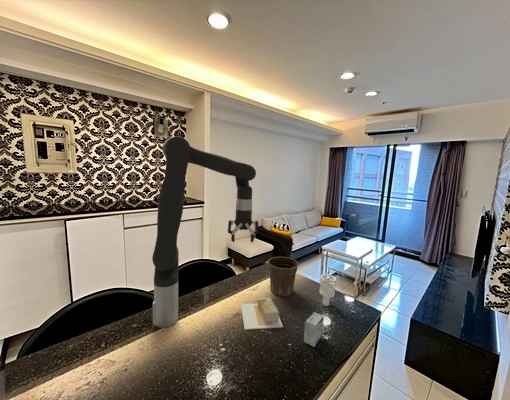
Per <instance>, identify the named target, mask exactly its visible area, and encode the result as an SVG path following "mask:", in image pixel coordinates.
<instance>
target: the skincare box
mask: <svg viewBox="0 0 510 400" xmlns="http://www.w3.org/2000/svg"><path fill="white" fill-rule="evenodd" d="M256 303H257V306H258V308H259V311H260V313H261V315H262V317H263V320H264V322H265V323H268V322H275V321H278V319H279V317H280V311H279V310H278V307H277V306H276V305H275V303H274V301H273V300H272V298H271V296H264V297H258V298H257V302H256Z"/></svg>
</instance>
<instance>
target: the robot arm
mask: <svg viewBox="0 0 510 400" xmlns="http://www.w3.org/2000/svg"><path fill="white" fill-rule="evenodd" d="M162 153H163V155H164V156H165V173H164V177H163V181H162V184H161V187H160V190H159V195H158V203H157V220H156V221H157V222H156V223H157V224H156V226H157V228H156V230H157V232H156V240H155V245H154V250H153V254H152V257H151V258H152V259H151V260H152V263H153V265H154V274H153V302H152V326H154V327H157V328H163V329H165V328H170V327H171V326H174V325H175V324H176V323H177V322H178V321H179V260H180V259H179V248H178V234H179V229H180V226H181V223H182V222H181V221H182V217H183V212H184V205H185V194H186V177H187V176H186V175H187V170H188V166H189V164H192V165H197V166H200V167H202V168H206V169H207V170H208V169H209V170H211V171H213V172H216V173H218V174H223V175H226V176H231V177H235V184H236V189H237V190H236V202H235V219H234V220H231V219H229V220H228V226H227V234H230V236H231V242H232V243H235V241H236V240H235V238H236V237H235V235H236V233H237V232H238V230H240V231H247V230H248V231H249V232H250V243H253V242H255V235H257V234H259V221H258V220H257V219H256V220H253V217H252V216H253V215H252V214H253V187H252V186H250V184H249V183H250V182H249V181H253V180H255V178H256V176H257V171H256V169H255V167H254V166H252V164H247V163H245V162H240V161H236V160H233V159H231V158H228V157H225V156H223V155H220V154H216V153H211V152H208V151H207V152H206V151H204V150H200V149H198V148H195V147H193V146H191V145H190V143H189V141H188V140H187V139H186V138H185V137H182V136H177V135H176V136H172V137H169V138H168V139H166V140H165V141H164V142H163V144H162ZM233 225H235V227H234V228H233V229H232V226H233ZM252 225H253V226H254V230H253V229H252Z"/></svg>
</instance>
